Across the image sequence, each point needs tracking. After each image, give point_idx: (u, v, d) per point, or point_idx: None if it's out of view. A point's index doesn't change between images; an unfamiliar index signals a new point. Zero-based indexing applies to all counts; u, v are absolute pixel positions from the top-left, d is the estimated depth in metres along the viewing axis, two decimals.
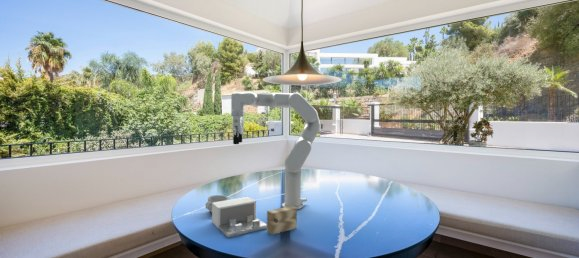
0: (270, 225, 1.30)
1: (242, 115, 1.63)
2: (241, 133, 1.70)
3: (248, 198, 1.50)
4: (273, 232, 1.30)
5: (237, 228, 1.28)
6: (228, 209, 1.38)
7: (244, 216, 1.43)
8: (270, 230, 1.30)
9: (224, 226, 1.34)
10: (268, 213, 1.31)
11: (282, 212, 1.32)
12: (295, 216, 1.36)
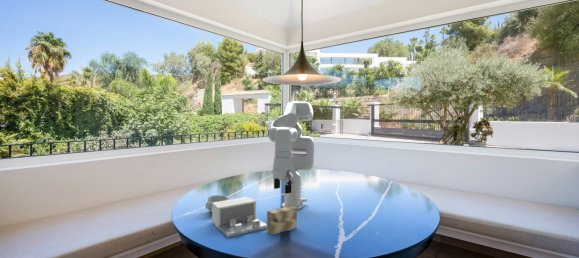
0: (270, 225, 1.30)
1: (275, 156, 1.33)
2: (285, 181, 1.29)
3: (248, 198, 1.50)
4: (273, 232, 1.30)
5: (237, 228, 1.28)
6: (228, 209, 1.38)
7: (244, 216, 1.43)
8: (270, 230, 1.30)
9: (224, 226, 1.34)
10: (268, 213, 1.31)
11: (282, 212, 1.32)
12: (295, 216, 1.36)
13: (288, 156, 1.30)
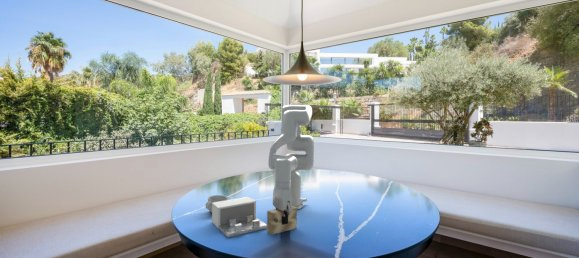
0: (270, 224, 1.30)
1: None
2: (282, 212, 1.32)
3: (248, 198, 1.50)
4: (273, 232, 1.30)
5: (237, 228, 1.28)
6: (228, 209, 1.38)
7: (244, 216, 1.43)
8: (270, 230, 1.30)
9: (224, 226, 1.34)
10: (268, 212, 1.31)
11: None
12: (295, 216, 1.36)
13: (288, 186, 1.31)
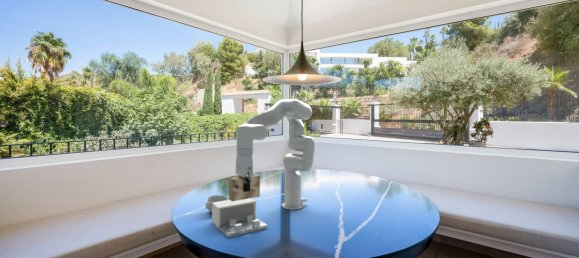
0: (231, 191, 1.29)
1: None
2: (244, 179, 1.31)
3: None
4: (234, 198, 1.29)
5: (237, 228, 1.28)
6: (228, 209, 1.38)
7: (244, 216, 1.43)
8: (231, 196, 1.29)
9: (224, 226, 1.34)
10: (229, 179, 1.30)
11: None
12: (258, 184, 1.35)
13: (249, 153, 1.30)
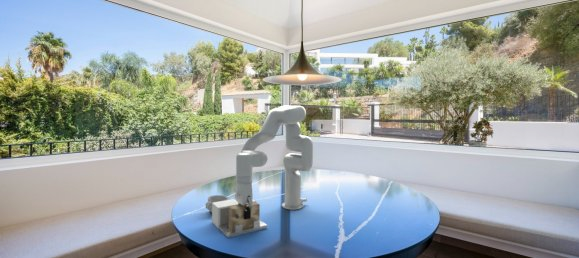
0: (231, 221, 1.30)
1: None
2: (244, 207, 1.31)
3: None
4: (234, 228, 1.30)
5: (237, 228, 1.28)
6: (228, 209, 1.38)
7: None
8: (231, 226, 1.30)
9: (224, 226, 1.34)
10: (229, 209, 1.31)
11: None
12: (258, 212, 1.36)
13: (249, 181, 1.31)
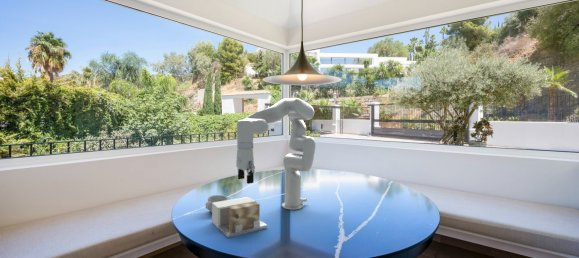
0: (231, 221, 1.30)
1: None
2: None
3: (248, 198, 1.50)
4: (234, 228, 1.30)
5: (237, 228, 1.28)
6: (228, 209, 1.38)
7: None
8: (231, 226, 1.30)
9: (224, 226, 1.34)
10: (229, 209, 1.31)
11: (244, 208, 1.32)
12: (258, 212, 1.36)
13: (250, 147, 1.33)
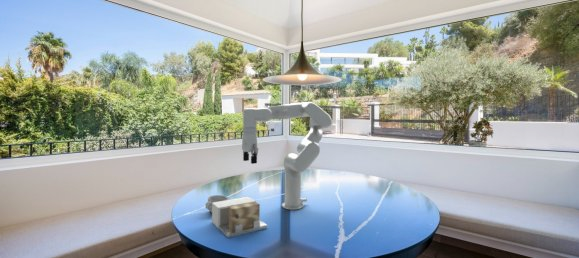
0: (231, 221, 1.30)
1: (243, 132, 1.55)
2: (251, 153, 1.51)
3: (248, 198, 1.50)
4: (234, 228, 1.30)
5: (237, 228, 1.28)
6: (228, 209, 1.38)
7: None
8: (231, 226, 1.30)
9: (224, 226, 1.34)
10: (229, 209, 1.31)
11: (244, 208, 1.32)
12: (258, 212, 1.36)
13: (254, 132, 1.52)
